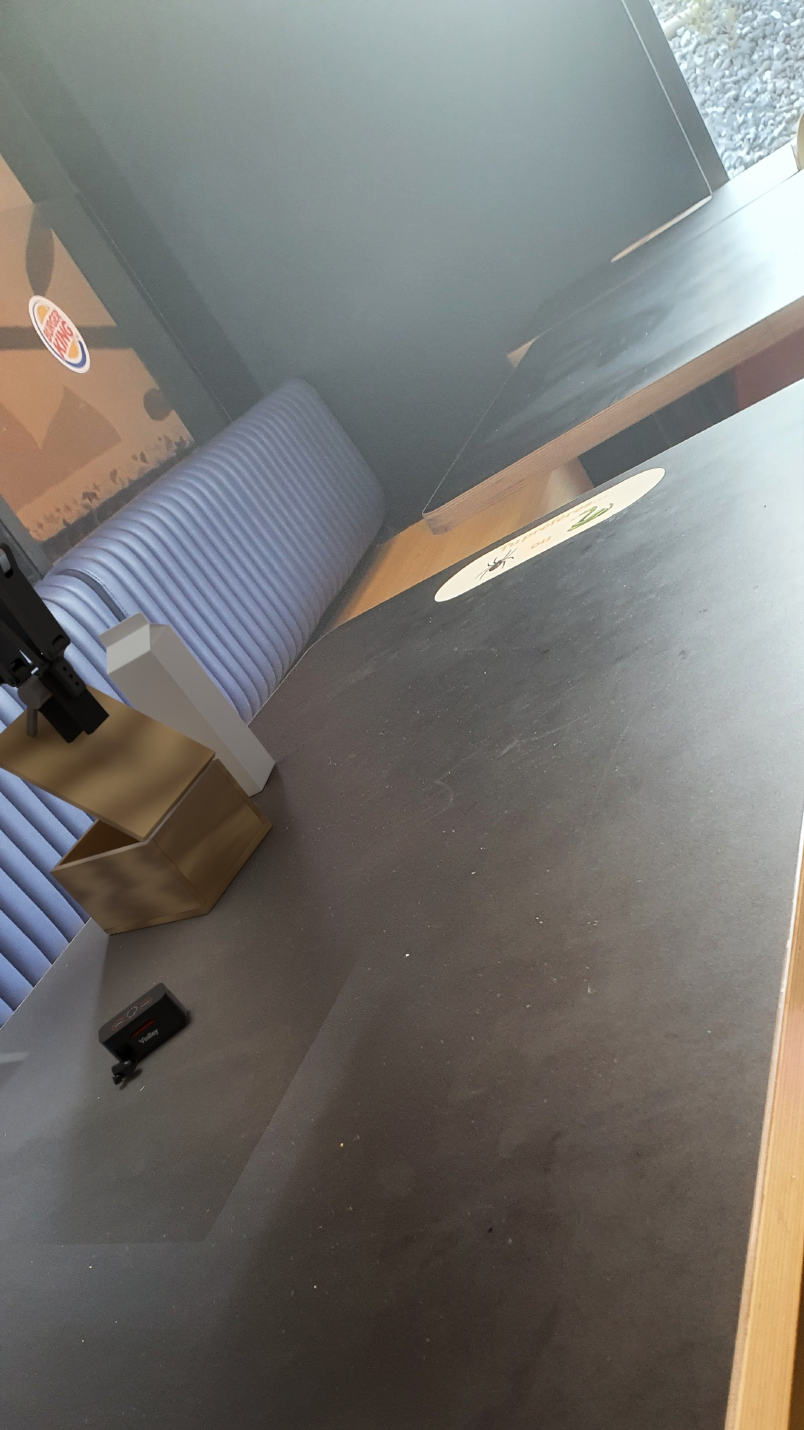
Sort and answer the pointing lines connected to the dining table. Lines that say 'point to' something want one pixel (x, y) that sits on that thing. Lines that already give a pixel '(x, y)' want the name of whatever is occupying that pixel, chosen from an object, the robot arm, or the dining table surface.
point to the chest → (166, 858)
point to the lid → (104, 761)
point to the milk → (182, 696)
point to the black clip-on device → (141, 1028)
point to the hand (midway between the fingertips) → (88, 729)
